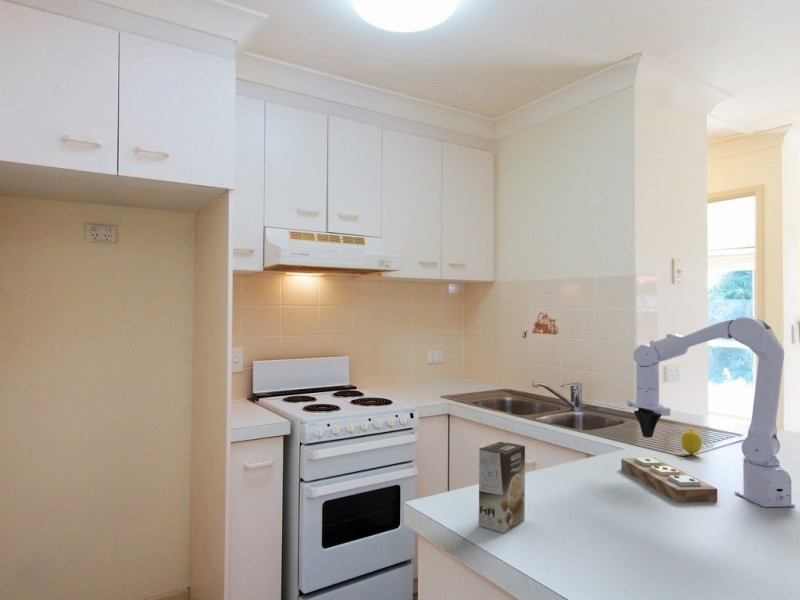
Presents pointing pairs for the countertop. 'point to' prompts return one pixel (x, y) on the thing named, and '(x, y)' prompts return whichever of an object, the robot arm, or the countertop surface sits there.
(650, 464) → the button one
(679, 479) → the button two
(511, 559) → the countertop surface
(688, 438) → the lemon
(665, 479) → the frame
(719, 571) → the countertop surface
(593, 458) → the countertop surface
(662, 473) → the button three
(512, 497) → the coffee box
